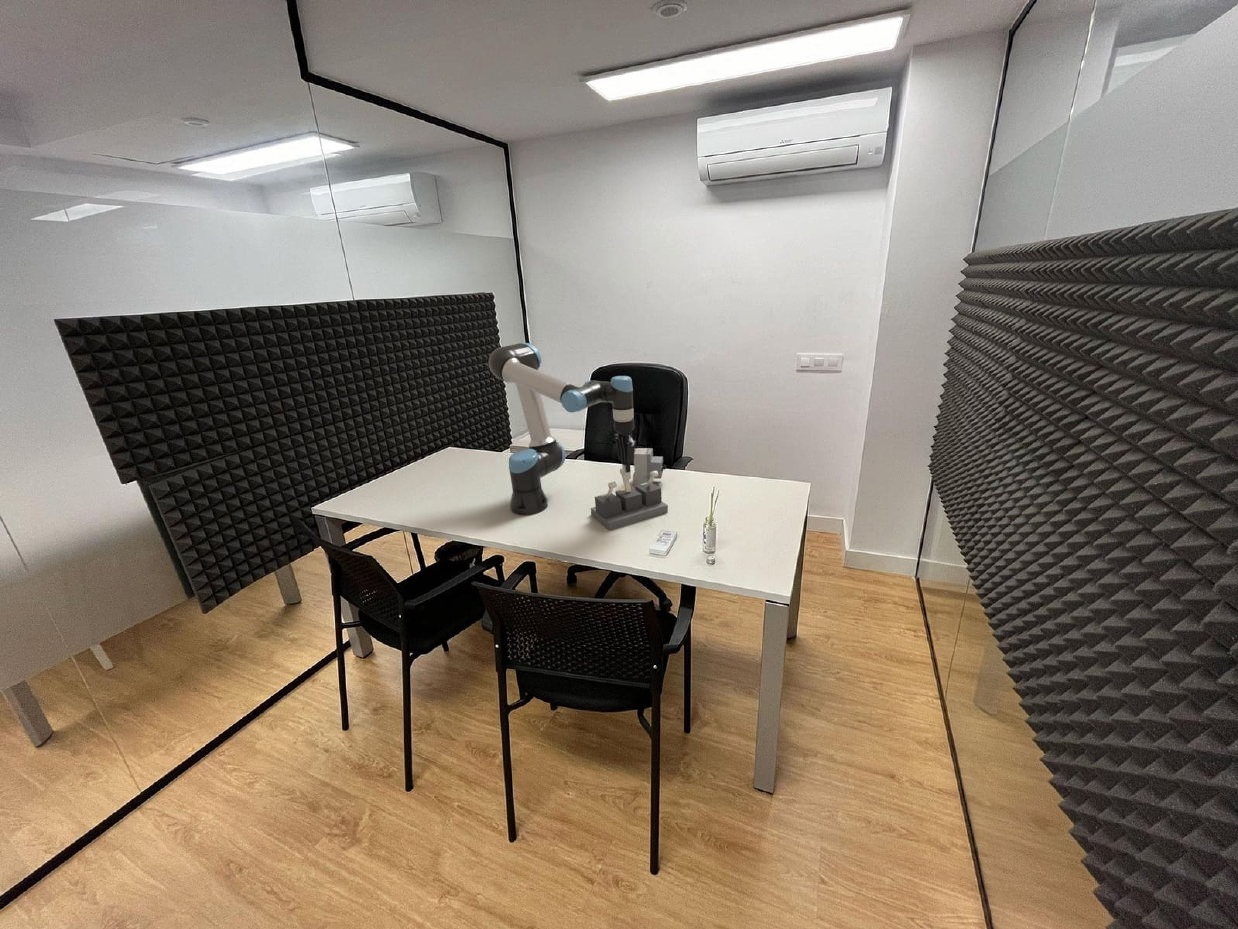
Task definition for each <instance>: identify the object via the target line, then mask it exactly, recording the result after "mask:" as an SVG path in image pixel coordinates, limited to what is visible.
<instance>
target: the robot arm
mask: <svg viewBox="0 0 1238 929" xmlns="http://www.w3.org/2000/svg"><path fill="white" fill-rule="evenodd" d="M541 356H542V355H541V354H540V351H539V349H538V348H537V347H536V346H534V345H533V344H531V343H528V342H523V343H522V342H520V343H516V344H510V345H505V346H500V347H497V348H496V349H494V350H493V351H492V352H491V354H490V355H489V357H488V367H489V370H490V372H491V373H492V374H493V376H495V378H497V379H498V380H501V381H503V382H505V383H507V384H512V383H514V384H515V386H516V389H517V393H518V397H519V401H520V404H521V407H522V411H523V414H524V420H525V423H526V426H527V430H528V434H529V438H530V442H529V444H528V448H524V449H520V450H517V451H515V452H513V453H512V454H511V455H510V456H509V457H508V470H509V475H510V476H509V477H510V481H511V488H512V493H511V499H510V504H509V506H510V510H511V512H512V513H514V514H516V515H519V516H520V515H521V516H524V515H525V516H527V515H529V516H530V515H534V514H538V513H541V512H542V511H544V510H545V509H547V507H548V498H547V496H546V494H545V492H544V490H543V487H542V480H541V478H543V477H545V476H547V475H548V474H551V473H552V472H555V471H557V470H559V468H561V467H562V466H563V465H564V463H565V461H566V451H565V449H564V446H563V445H562V444H561V443H560V442H558V441H557V438H555V436H553V435H552V433H551V430H550V426H549V423H548V422H549V421H548V417H547V414H546V410H545V407H544V403H543V399H542V398H543V397H542V396H544V397H546V398H549V399H551V400H553V401H555V402H558V403H560V404H561V406H562V407H563V408H564V410H565V411H566V412H568V413H573V414H574V413H576V412H577V413H578V412H581V411H583V410H585V409H587V408H590V407H592V406H594V405H597V404H599V403H610V404H611V405H612V418H613V430H614V431H615V432H616V433H615V434H613V437H614V440H615V446H616V452H617V456H618V460H619V461H620V462H621V466H622V467H621V469H623V478H622V481H623V480H629V481H630V480H631V479H632V476H631V475H632V474H631V471H632V470H631V464H634V453H635V448H636V445H637V441H636V440H634V439H633V433H632V431H633V430H635V419H634V418H635V417H634V410H635V409H634V395H633V394H634V389H633V388H634V387H633V380H632V377H630V376H628V375H616V376H613V377H612V378H611V379H610V381H601V380H587V381H585V382H584V384H583V385H582V386H576V385H573V384H572V383H569V382H566V381H564V380H562V379H559V378H557V377H554V376H552V375H550V374H547V373H545V372H544V371H543V372H542V371H539V369H540V367H541V364H542V357H541Z"/></svg>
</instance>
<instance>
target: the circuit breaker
mask: <svg viewBox="0 0 1238 929" xmlns="http://www.w3.org/2000/svg"><path fill="white" fill-rule="evenodd" d="M633 469H634V472H633V475H632V484H633V485H632V486H637V485H640V484H643V483H648V481H649V479H650V477H651V476H650V472H652V471H657V472H658V476H656V477H654V479H653V481H652V483H653V482H654V480H655V479H656V480H658V479H662V477H663V473H664V470H665V471H666V469H667V464H664V456H657V455H655V456H654V449H653V448H652V447H651V448H649V447H648V448H647V447H646V448H642V447H641V448H639V447H638V448H636V447H635V453H634V463H633ZM653 484H654V483H653Z"/></svg>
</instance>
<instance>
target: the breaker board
mask: <svg viewBox="0 0 1238 929" xmlns="http://www.w3.org/2000/svg"><path fill="white" fill-rule="evenodd" d="M650 476H651V477H650V479H649V481H648V483H643V484H640V485H637V486H636V485H634V486H635V488H633V487H632V486H630V488H631V491H629V492H625V488H622V489H618V490H616V491H615V494H614V493H613V490H614V489H615V488H617V487H618V484H617V482H616V481H612V482H611V481H610V482H608V483H607V486H608V490H607V492H606V493H604V494H603V493H602V494H600V495H597V496H594V504H595V506H593V507H590V515H591V516H592V517H593V518H594V519H596V521H597V522H599V523H600V524H601V525H602V526H603V527H605V528H606V529H607V530H608V531H611V530H614V529H618V528H621V527H624V526H627V525H631V524H634V523H637V522H640V521H644V520H648V519H650V518H652V517H656V516H659V515H662V514H663V515H664V514H666V513H668V512H669V509H668V508H669V507H668V504H667V503H665V502H664V501H662V499H663V498H662V488H661V487H660V486H658V485H657V484H655V483H652V481H653V482H654V480H655V479H654V477H656V476H658V472H657V471H652V472H650ZM653 479H654V480H653Z"/></svg>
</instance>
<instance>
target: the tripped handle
mask: <svg viewBox="0 0 1238 929" xmlns="http://www.w3.org/2000/svg"><path fill="white" fill-rule="evenodd" d="M619 475H621V477H622V478H621V479H622V482H623V488H624V489H625V492H629V491H631V488H630V487H631V484H630V483H631V482H630V479H629V480H623V469H622V468H620V469H619Z"/></svg>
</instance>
